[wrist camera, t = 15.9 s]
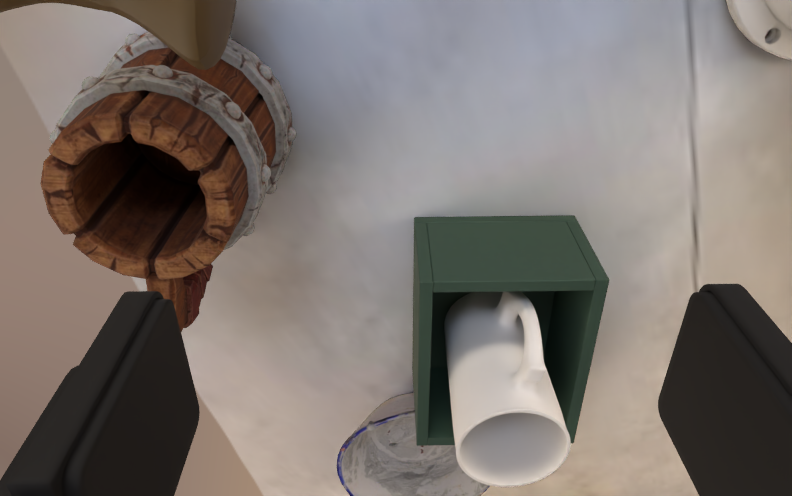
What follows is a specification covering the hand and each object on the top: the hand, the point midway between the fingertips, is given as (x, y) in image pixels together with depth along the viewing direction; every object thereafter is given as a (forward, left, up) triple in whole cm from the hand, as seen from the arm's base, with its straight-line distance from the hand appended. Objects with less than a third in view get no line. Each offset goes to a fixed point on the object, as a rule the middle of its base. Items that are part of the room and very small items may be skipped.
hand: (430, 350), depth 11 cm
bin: (-7, +20, -28) cm, 35 cm away
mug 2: (-7, +20, -28) cm, 35 cm away
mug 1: (+12, +7, -28) cm, 32 cm away
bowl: (-1, +34, -28) cm, 44 cm away
